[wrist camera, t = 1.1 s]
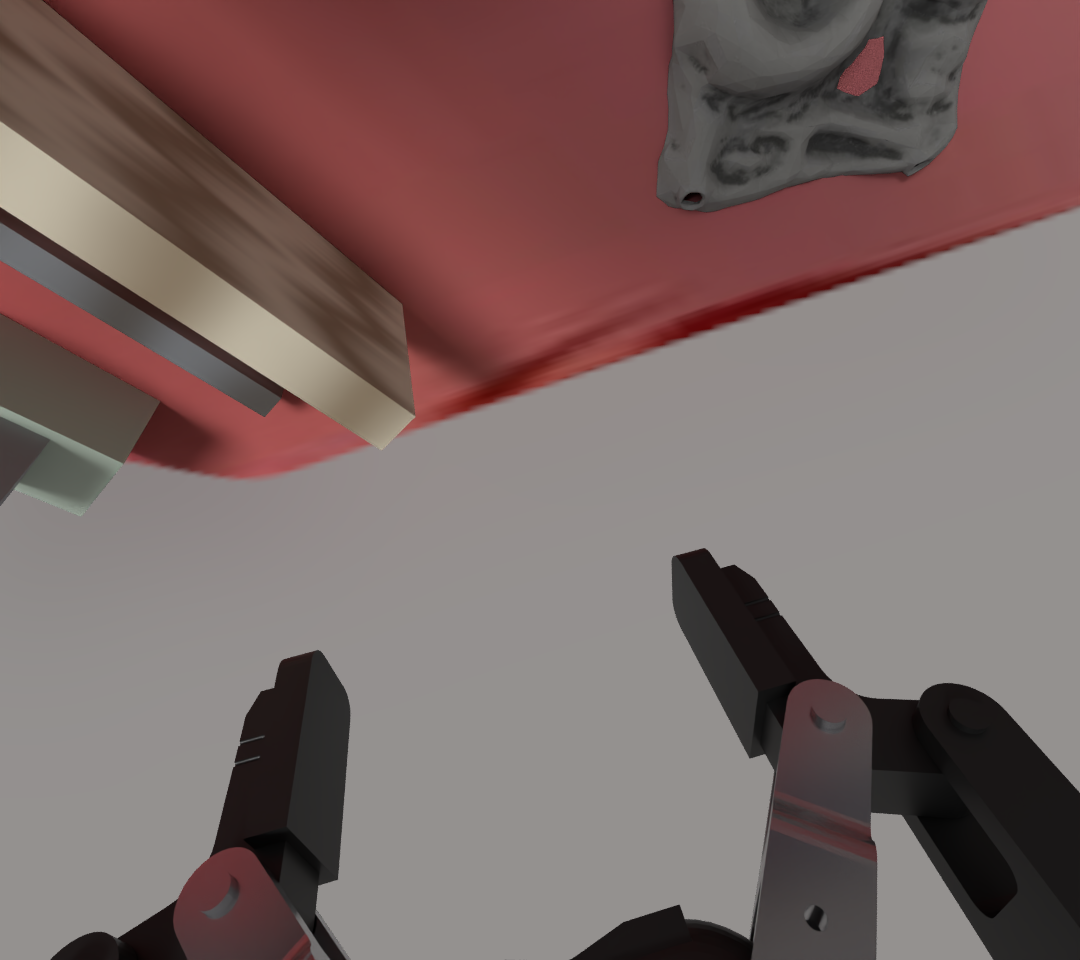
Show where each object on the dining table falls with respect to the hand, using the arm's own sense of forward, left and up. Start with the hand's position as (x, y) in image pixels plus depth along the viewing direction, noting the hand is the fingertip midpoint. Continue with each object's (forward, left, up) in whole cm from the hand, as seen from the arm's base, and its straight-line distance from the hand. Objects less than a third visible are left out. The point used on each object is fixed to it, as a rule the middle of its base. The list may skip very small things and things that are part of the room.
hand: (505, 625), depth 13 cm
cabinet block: (-10, -17, -23) cm, 30 cm away
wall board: (-10, -6, -23) cm, 26 cm away
